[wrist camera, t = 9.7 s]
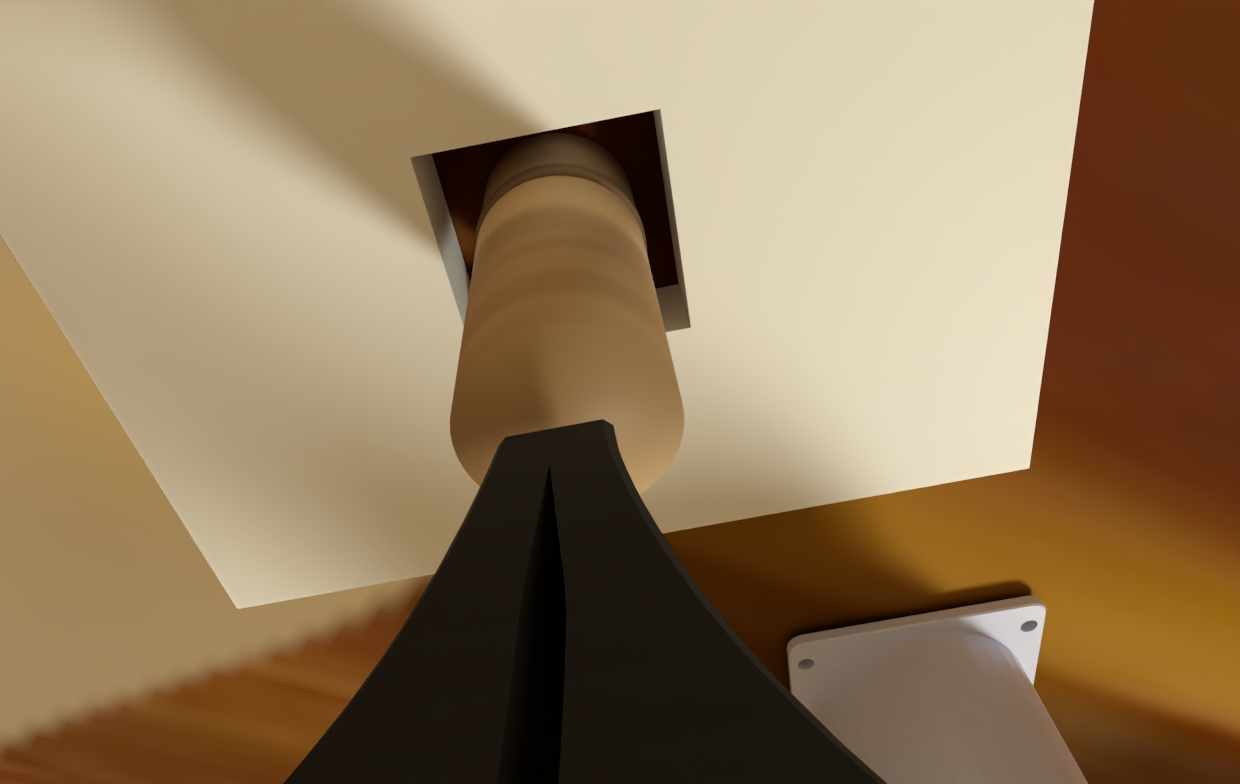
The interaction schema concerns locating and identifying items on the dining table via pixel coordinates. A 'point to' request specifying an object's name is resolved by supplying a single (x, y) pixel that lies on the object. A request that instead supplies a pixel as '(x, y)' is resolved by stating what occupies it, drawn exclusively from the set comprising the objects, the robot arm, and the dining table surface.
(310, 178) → the board
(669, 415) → the peg
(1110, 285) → the dining table surface
